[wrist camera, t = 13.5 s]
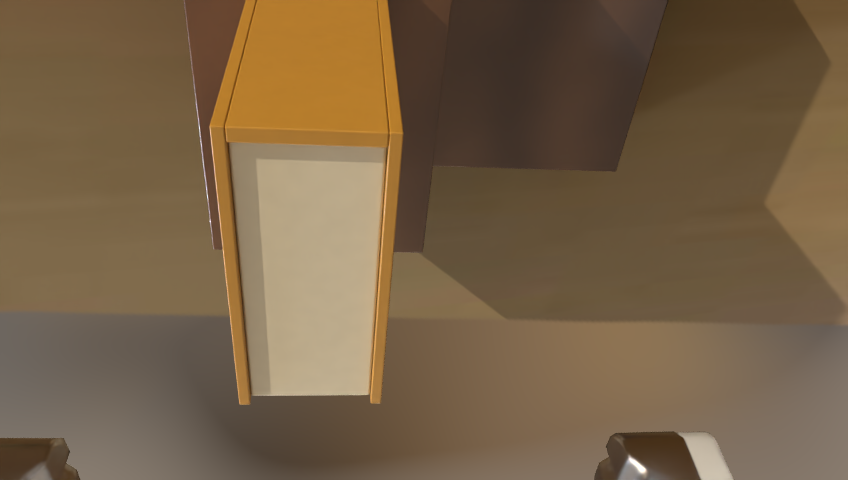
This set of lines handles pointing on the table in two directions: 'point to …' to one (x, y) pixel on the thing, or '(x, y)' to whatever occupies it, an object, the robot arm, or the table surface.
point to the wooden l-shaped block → (478, 86)
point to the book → (309, 194)
